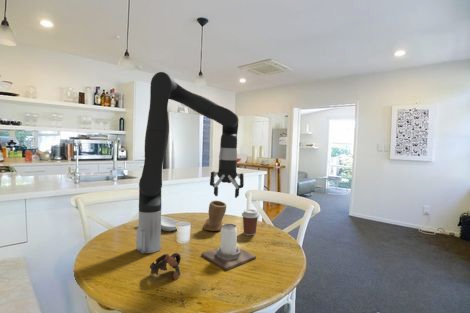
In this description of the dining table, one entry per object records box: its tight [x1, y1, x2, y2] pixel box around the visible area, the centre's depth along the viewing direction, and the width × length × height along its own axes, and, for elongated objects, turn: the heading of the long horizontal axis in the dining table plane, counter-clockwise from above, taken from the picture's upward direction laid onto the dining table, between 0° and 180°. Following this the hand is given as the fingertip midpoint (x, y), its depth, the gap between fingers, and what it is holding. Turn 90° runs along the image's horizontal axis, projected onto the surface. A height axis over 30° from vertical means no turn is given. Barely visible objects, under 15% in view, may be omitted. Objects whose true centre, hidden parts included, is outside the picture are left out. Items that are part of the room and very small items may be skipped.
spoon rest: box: [161, 215, 181, 232], centre depth 138 cm, size 24×12×7 cm, turn 74°
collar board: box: [201, 245, 257, 271], centre depth 105 cm, size 16×16×3 cm
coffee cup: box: [241, 209, 260, 236], centre depth 133 cm, size 9×9×12 cm
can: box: [220, 223, 238, 254], centre depth 105 cm, size 6×6×12 cm
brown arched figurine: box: [149, 252, 182, 281], centre depth 90 cm, size 12×10×8 cm
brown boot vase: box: [203, 200, 227, 232], centre depth 140 cm, size 15×12×15 cm
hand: (226, 196), depth 108 cm, fingers open, 8 cm apart
